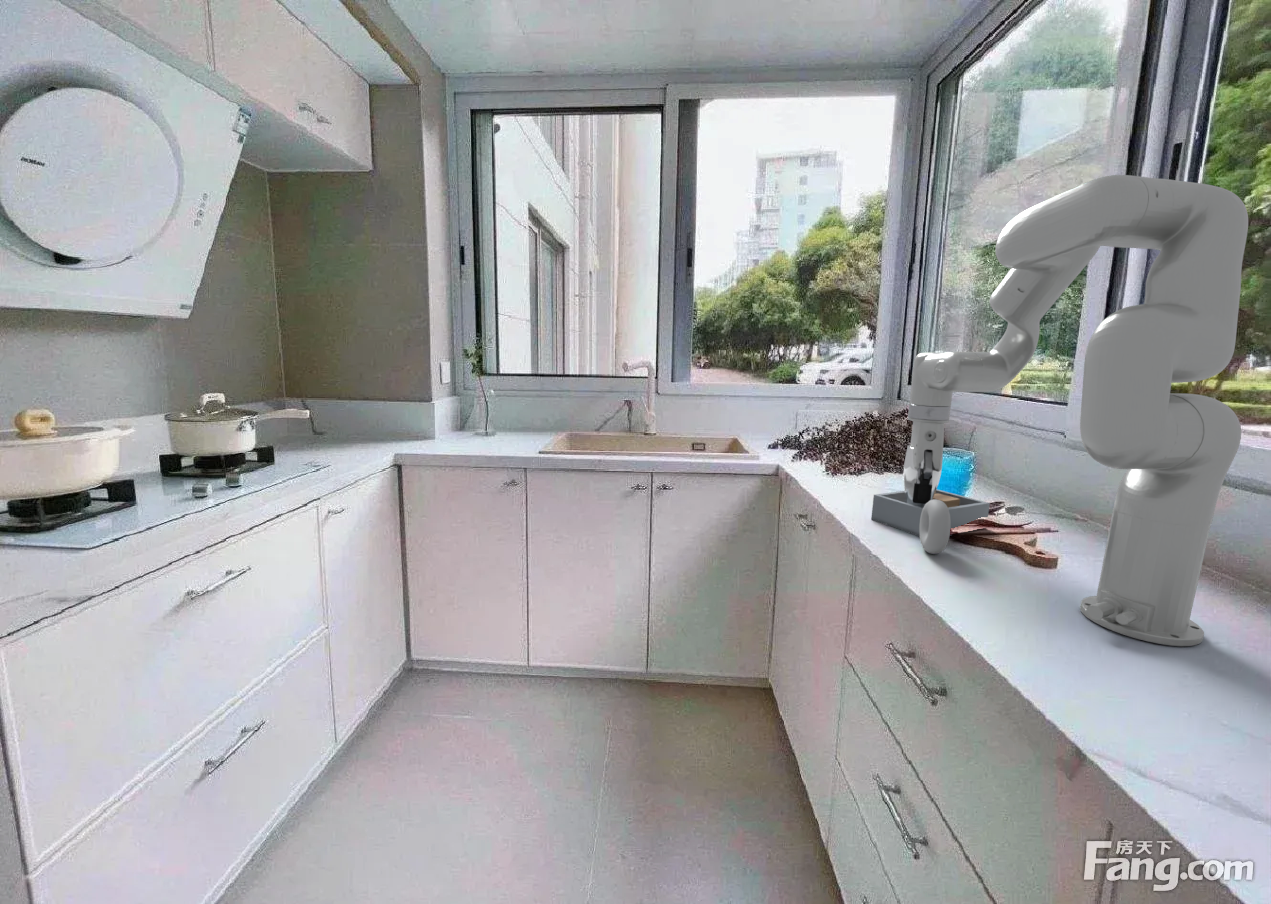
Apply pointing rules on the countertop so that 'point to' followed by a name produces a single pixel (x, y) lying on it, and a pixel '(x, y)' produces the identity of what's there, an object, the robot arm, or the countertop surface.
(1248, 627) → the countertop surface
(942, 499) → the walnut cube
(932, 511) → the donut
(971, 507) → the tray
